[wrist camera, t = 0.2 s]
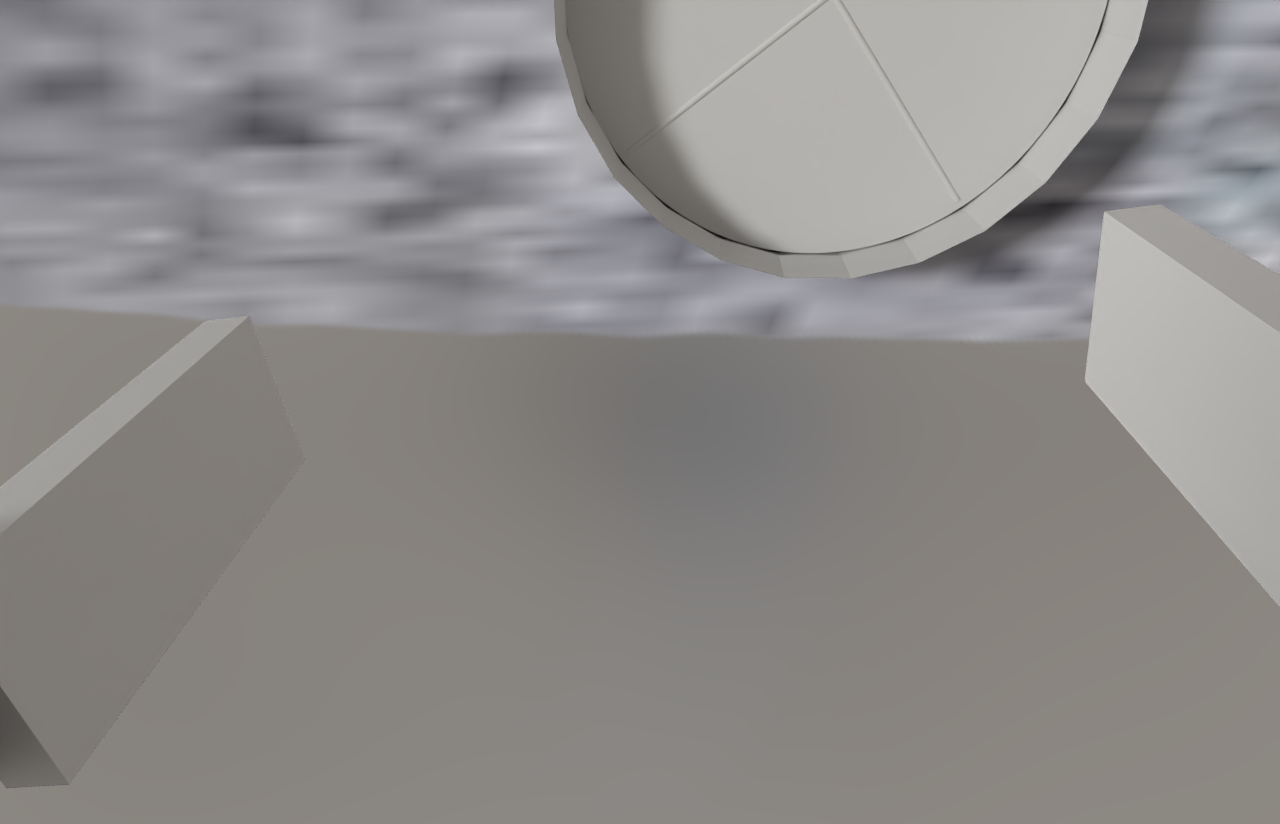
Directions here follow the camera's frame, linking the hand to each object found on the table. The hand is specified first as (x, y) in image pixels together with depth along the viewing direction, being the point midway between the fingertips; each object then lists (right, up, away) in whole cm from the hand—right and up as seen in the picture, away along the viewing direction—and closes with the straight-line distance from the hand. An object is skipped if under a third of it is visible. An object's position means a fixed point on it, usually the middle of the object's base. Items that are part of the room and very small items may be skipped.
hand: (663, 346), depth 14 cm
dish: (+7, +17, +23) cm, 29 cm away
